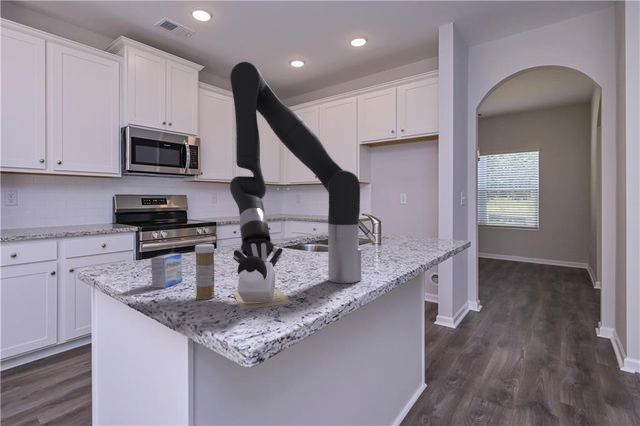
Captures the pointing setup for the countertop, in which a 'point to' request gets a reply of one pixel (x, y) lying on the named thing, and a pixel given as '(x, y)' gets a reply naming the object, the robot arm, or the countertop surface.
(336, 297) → the countertop surface
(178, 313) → the countertop surface
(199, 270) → the sprinkles bottle
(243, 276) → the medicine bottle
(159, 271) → the medicine box
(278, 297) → the letter
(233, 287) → the countertop surface
